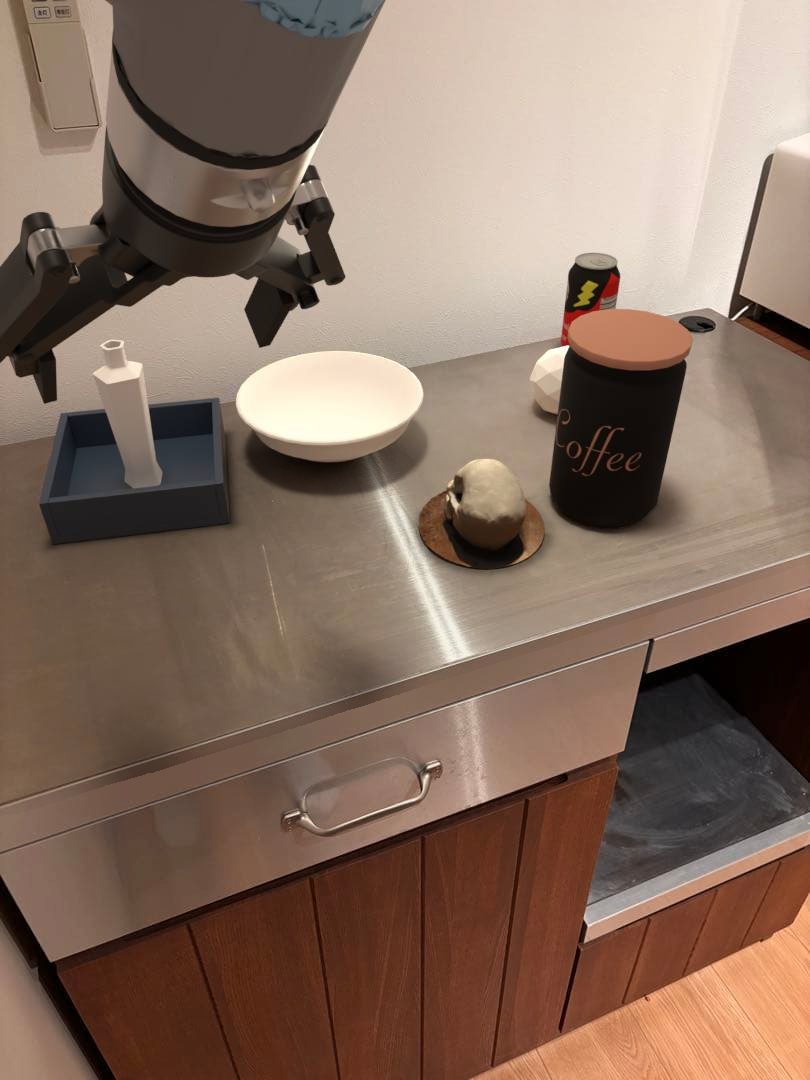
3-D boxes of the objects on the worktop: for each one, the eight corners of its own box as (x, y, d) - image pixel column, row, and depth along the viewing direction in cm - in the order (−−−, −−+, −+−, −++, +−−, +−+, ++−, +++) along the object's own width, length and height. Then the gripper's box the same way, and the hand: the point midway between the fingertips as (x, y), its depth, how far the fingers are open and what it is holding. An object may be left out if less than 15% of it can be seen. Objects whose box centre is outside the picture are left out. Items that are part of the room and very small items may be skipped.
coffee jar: (526, 500, 86) (542, 332, 74) (590, 459, 91) (615, 298, 80) (614, 548, 80) (647, 374, 68) (677, 501, 85) (717, 333, 74)
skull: (394, 494, 85) (463, 417, 81) (466, 538, 90) (533, 468, 87) (426, 566, 75) (505, 483, 72) (504, 611, 81) (580, 535, 78)
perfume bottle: (176, 479, 88) (148, 344, 78) (138, 496, 85) (104, 359, 76) (153, 461, 90) (123, 328, 81) (116, 477, 88) (80, 343, 79)
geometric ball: (540, 428, 102) (509, 369, 100) (597, 394, 102) (567, 335, 100) (562, 430, 94) (528, 366, 93) (623, 393, 95) (590, 329, 93)
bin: (52, 544, 81) (38, 503, 78) (71, 451, 93) (60, 413, 90) (230, 523, 83) (223, 482, 80) (225, 435, 96) (219, 397, 93)
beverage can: (587, 336, 115) (599, 247, 107) (618, 354, 111) (633, 263, 103) (550, 346, 112) (559, 256, 105) (580, 365, 108) (592, 273, 101)
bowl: (223, 420, 98) (215, 370, 94) (383, 386, 104) (381, 337, 100) (272, 515, 84) (264, 460, 80) (453, 469, 90) (455, 417, 86)
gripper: (-110, 305, 28) (-38, 469, 47) (502, 182, 38) (355, 359, 58) (-190, 97, 28) (-86, 345, 48) (439, 30, 38) (314, 257, 58)
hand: (155, 353), depth 53 cm, fingers open, 13 cm apart
